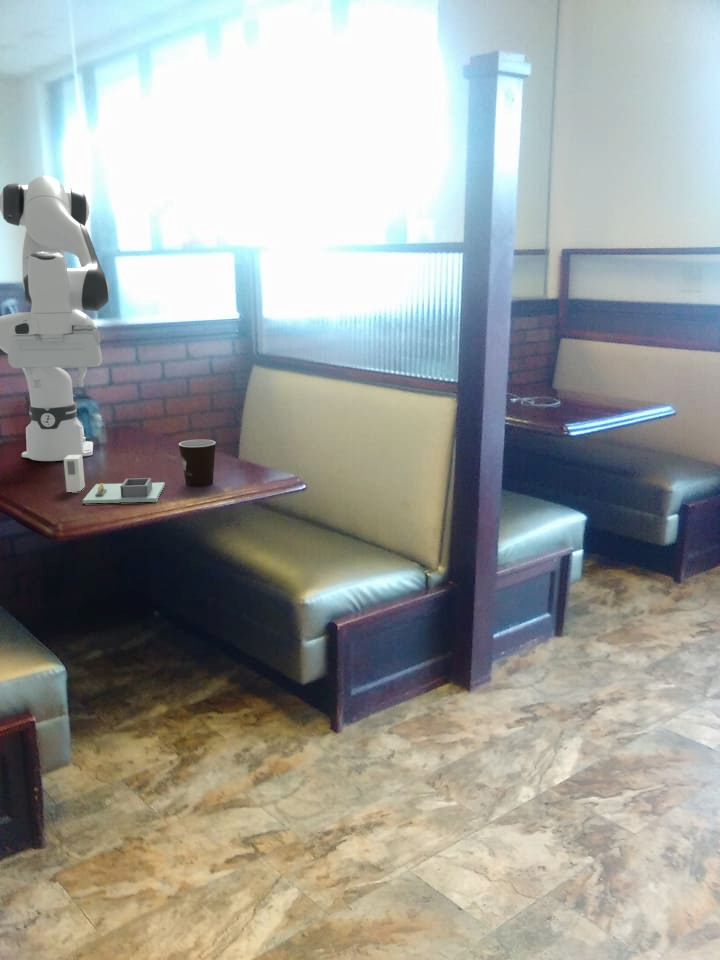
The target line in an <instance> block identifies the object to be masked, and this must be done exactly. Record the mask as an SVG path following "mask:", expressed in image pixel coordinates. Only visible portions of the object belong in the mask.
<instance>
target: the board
mask: <svg viewBox="0 0 720 960" xmlns="http://www.w3.org/2000/svg"><path fill="white" fill-rule="evenodd" d="M152 480H153V479H152V477H148V478H147V477H146V478H145V477H144V478H143V477H140V478H125V479H124V481H123V482H121V483H102V482H101V483H96V484H95V485H94V486H93V487H92V489H91V490H90V491H89V492H88V493H87V494H86V496H85V497H84V498H83V499H82V504H83V503H112V502H113V503H119V502H153V503H154V502H156V503H157V502H158V500H159V499H158V498H160V497H159V496H161V495H160V494H162V493H163V491H164V489H165V487H166V482H163V481H162V482H153V481H152ZM164 486H165V487H164ZM163 488H164V489H163ZM162 490H163V491H162ZM161 492H162V493H161ZM153 503H152V504H153Z"/></svg>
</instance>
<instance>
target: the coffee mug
mask: <svg viewBox="0 0 720 960" xmlns="http://www.w3.org/2000/svg"><path fill="white" fill-rule="evenodd" d="M216 445H217V444H216V441H214V440H212V439H189V440H184V441H181V442H179V443H178V446H179V453H180V457H181V458H180V459H181V464H182V469H183V475H184V480H185V485H186V487H189V486H190V487H189V488H205V487H210V486H212V485H213V484H214V472H215V457H216Z"/></svg>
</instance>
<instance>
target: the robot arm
mask: <svg viewBox="0 0 720 960" xmlns="http://www.w3.org/2000/svg"><path fill="white" fill-rule="evenodd" d="M86 197H87V196H86V195H85V194H84V193H83V192H82V191H81V190H77V189H75V188H74V189H73V188H70V189H68V188H65V186H64V185H63V184H62V183H61V182H60V180H58V179H57V178H55V177H52V176H49V175H39V176H37V177H33V179H31V181H29V183H28V184H20V183H17V182H16V183H8V184H6V185H5V186H3V188H2V192H1V193H0V213H1V215H2V216H3V219H4V221H5V222H6V223H8V224H11V225H13V226H18V227H19V226H22V227H23V226H24V227H25V229H26V232H25V233H24V234H25V235H24V239H23V245H22V246H23V247H22V259H21V260H22V288H23V289H22V290H23V291H24V299H25V301H26V302H27V303H29V304H30V305H31V308H30V311H26V312H25V311H24V312H22V311H21V312H19V311H17V312H14V313H9V314H4V315H1V316H0V350H1V351H2V352H3V353H5V354H7V361H8V364H9V366H10V367H11V368H12V369H21V370H22V372H23V374H24V375H25V380H26V382H27V383H26V384H27V388H28V392H29V394H28V395H29V401H30V405H29V419H30V420H31V421H30V423H29V424H28V425H27V426H26V427H25V440H26V451H23V452H22V453H21V457H22V458H26V459H30V460H32V461H39V462H56V461H64V458H65V457H67V456H68V455H82V458H83V457H91V456H92V455H93V451H94V443H93V441H89V440H88V439H87V437H86V436H85V430H84V426H83V424H82V423H81V421H80V420H79V418H78V417H77V416H78V409H77V403H76V402H74V393H73V392H74V391H73V380H72V377H71V375H70V374H69V373H68V371H66V370H64V369H63V368H78V372H79V373H80V374H79V377H77V378H76V379H75V378H74V383H75V384H74V386H75V388H82V387H84V378H85V377H86V375H87V373H88V367H92V368H93V367H99V366H100V365H101V364H102V363H103V354H102V350H101V345H100V344H101V343H102V336H101V335H102V334H101V331H100V329H99V328H97V327H96V325H95V323H94V321H93V319H92V318H91V317H90V316H89V315H88V314H87V313H85V312H83V311H94V312H98V311H100V310H101V309H102V308H103V307H104V306H105V305H106V304H107V303H109V298H110V284H109V282H108V279H107V277H106V274H105V272H104V270H103V267H101V264H100V261H99V258H98V255H97V253H96V249H95V247H94V244H93V241H92V239H91V237H90V234H89V231H88V229H87V227H85V226H86V224H87V221H88V218H89V214H90V206H89V202H88V200H87V198H86ZM66 252H67V253H70V254H73V255H74V256H76V257H77V258H78V261H79V264H80V267H68V265H67V259H66Z"/></svg>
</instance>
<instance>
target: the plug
mask: <svg viewBox="0 0 720 960" xmlns="http://www.w3.org/2000/svg"><path fill="white" fill-rule="evenodd" d="M63 466H64V476H65V477H64V478H65V487H66V493H67V492H72V493H78V492H77V491H81V490H82V489H83V488H84V487H85V488H86V483H85V471H84V461H83V457H82V455H68V456H67V457H65V458H64V460H63ZM85 488H84V489H85ZM84 489H83V490H84ZM83 490H82V491H83Z"/></svg>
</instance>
